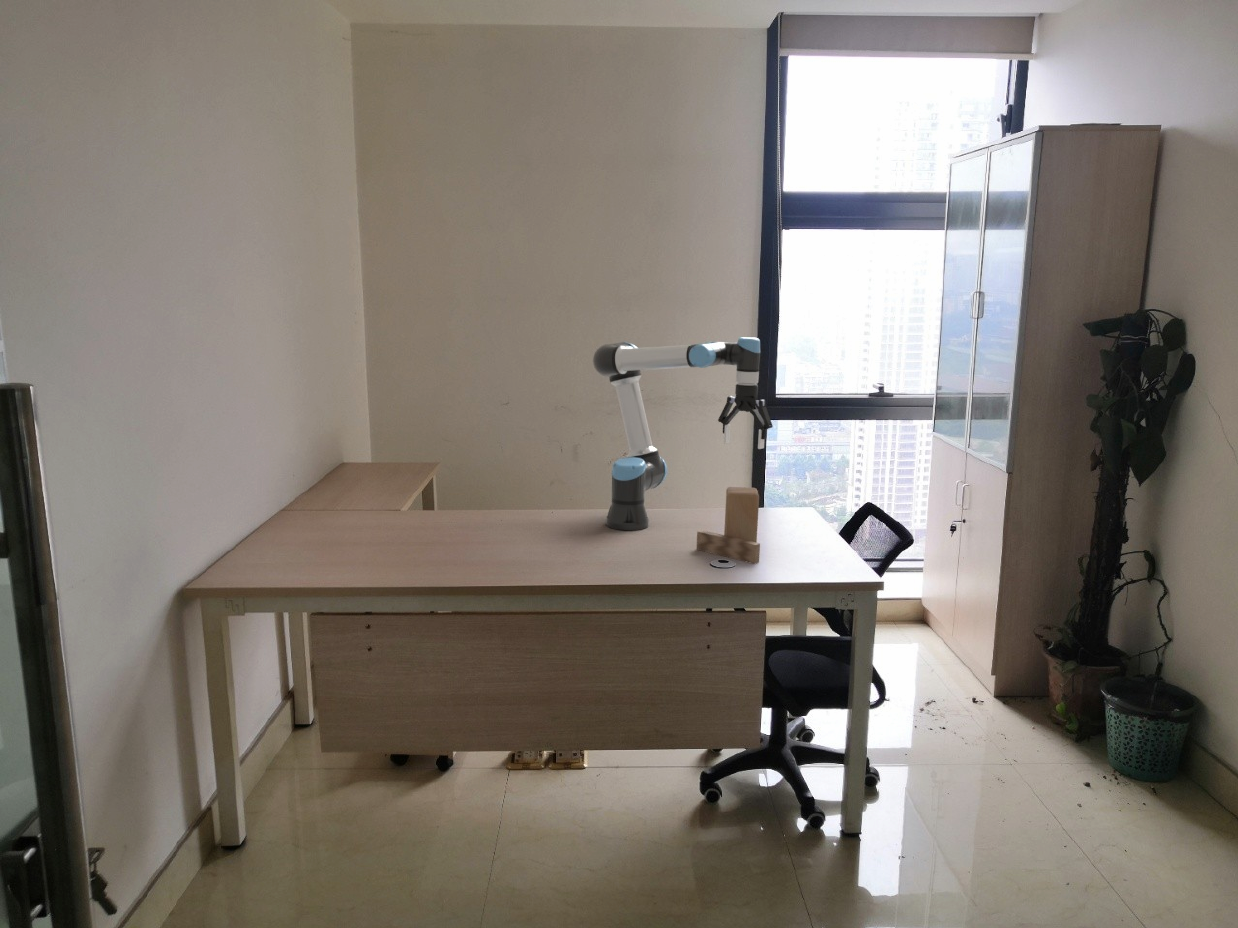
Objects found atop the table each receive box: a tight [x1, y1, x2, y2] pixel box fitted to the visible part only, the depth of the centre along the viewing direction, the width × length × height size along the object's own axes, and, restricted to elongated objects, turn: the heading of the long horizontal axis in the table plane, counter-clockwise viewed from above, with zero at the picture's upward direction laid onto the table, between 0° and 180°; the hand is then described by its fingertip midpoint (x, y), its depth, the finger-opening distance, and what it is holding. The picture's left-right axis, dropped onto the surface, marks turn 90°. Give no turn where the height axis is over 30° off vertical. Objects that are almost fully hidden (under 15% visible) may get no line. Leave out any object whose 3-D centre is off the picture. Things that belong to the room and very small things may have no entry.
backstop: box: [696, 529, 761, 565], centre depth 284 cm, size 22×2×6 cm, turn 50°
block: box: [723, 486, 760, 543], centre depth 289 cm, size 10×10×20 cm
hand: (743, 445), depth 305 cm, fingers open, 13 cm apart
